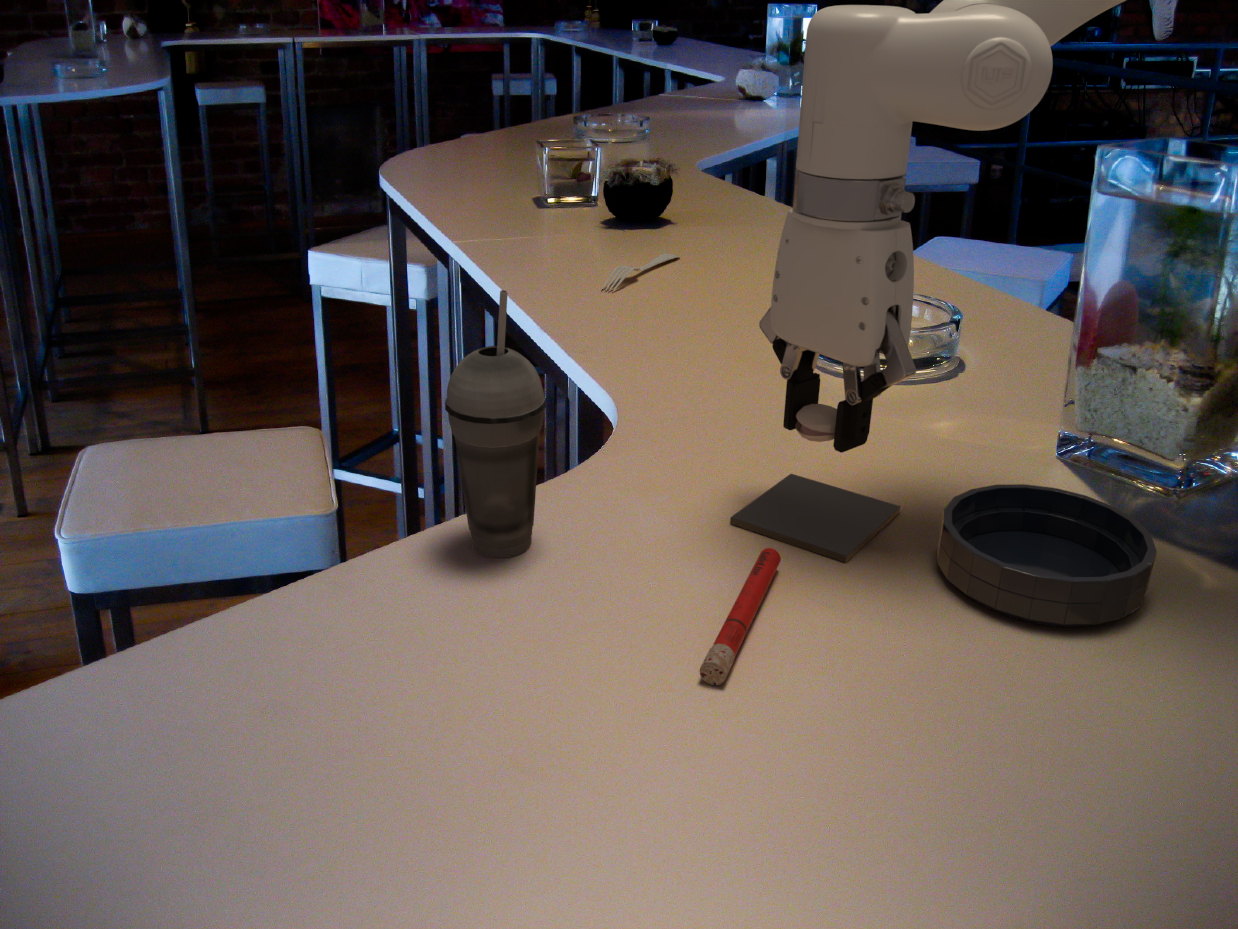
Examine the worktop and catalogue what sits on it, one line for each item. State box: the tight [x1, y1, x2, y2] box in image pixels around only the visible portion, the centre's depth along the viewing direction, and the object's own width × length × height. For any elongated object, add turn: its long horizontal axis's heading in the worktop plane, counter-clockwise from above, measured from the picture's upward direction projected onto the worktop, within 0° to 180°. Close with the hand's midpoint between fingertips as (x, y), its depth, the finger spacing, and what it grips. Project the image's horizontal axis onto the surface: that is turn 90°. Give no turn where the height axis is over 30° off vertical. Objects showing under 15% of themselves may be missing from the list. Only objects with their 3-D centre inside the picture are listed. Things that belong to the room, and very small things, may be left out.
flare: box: [698, 547, 782, 686], centre depth 73 cm, size 2×15×2 cm, turn 159°
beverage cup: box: [444, 289, 547, 559], centre depth 78 cm, size 7×7×20 cm
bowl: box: [936, 483, 1158, 628], centre depth 78 cm, size 14×14×4 cm
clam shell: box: [795, 403, 837, 443], centre depth 83 cm, size 4×5×2 cm
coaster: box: [729, 473, 901, 564], centre depth 87 cm, size 10×10×1 cm
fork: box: [601, 253, 681, 292], centre depth 151 cm, size 3×21×3 cm, turn 152°
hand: (824, 433), depth 84 cm, fingers closed on clam shell, 4 cm apart
